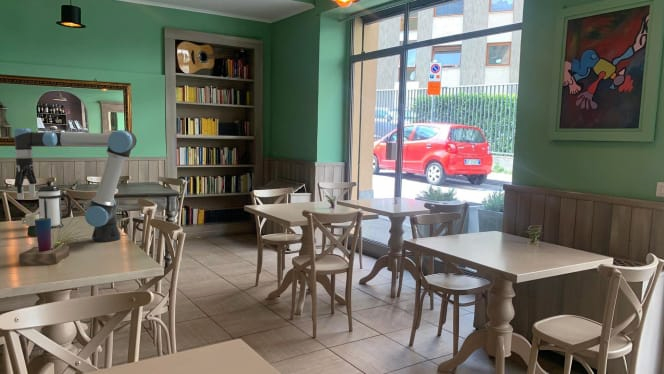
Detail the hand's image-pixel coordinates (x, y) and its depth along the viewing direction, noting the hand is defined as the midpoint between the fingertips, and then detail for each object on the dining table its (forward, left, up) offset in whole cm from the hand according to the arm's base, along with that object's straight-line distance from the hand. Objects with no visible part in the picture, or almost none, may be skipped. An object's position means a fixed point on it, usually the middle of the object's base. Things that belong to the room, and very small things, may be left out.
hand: (26, 197), depth 270 cm
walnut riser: (-20, +31, -27) cm, 46 cm away
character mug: (+10, -29, -27) cm, 41 cm away
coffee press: (+10, -58, -27) cm, 65 cm away
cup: (-20, +31, -22) cm, 43 cm away
